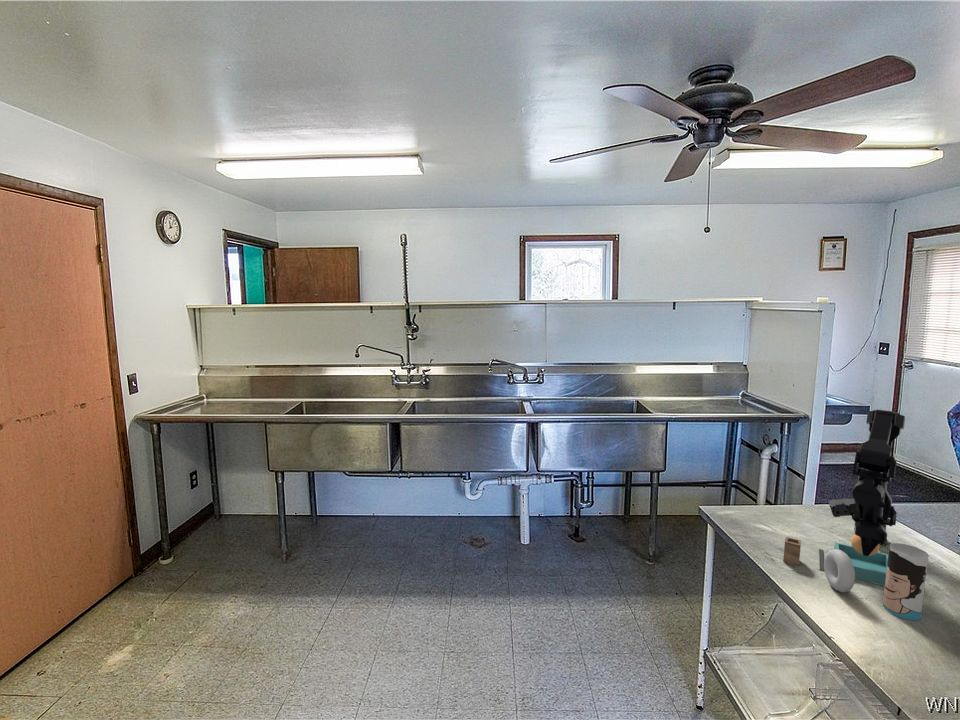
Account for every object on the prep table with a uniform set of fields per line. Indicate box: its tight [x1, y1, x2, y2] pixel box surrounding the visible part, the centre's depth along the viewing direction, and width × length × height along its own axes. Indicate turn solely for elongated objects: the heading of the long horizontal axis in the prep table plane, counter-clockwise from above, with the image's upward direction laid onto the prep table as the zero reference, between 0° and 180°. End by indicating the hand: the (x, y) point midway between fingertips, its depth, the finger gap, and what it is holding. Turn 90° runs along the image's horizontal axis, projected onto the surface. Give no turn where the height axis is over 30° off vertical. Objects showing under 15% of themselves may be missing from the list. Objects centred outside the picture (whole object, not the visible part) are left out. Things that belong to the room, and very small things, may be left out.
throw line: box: [818, 548, 825, 572], centre depth 134 cm, size 13×1×1 cm, turn 145°
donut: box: [824, 548, 856, 593], centre depth 119 cm, size 10×4×10 cm, turn 168°
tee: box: [782, 536, 802, 567], centre depth 133 cm, size 4×4×6 cm
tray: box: [833, 541, 889, 587], centre depth 129 cm, size 13×12×3 cm
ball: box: [850, 533, 881, 556], centre depth 128 cm, size 6×6×6 cm
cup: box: [882, 542, 930, 621], centre depth 111 cm, size 7×7×15 cm
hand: (864, 550), depth 128 cm, fingers closed on ball, 6 cm apart
